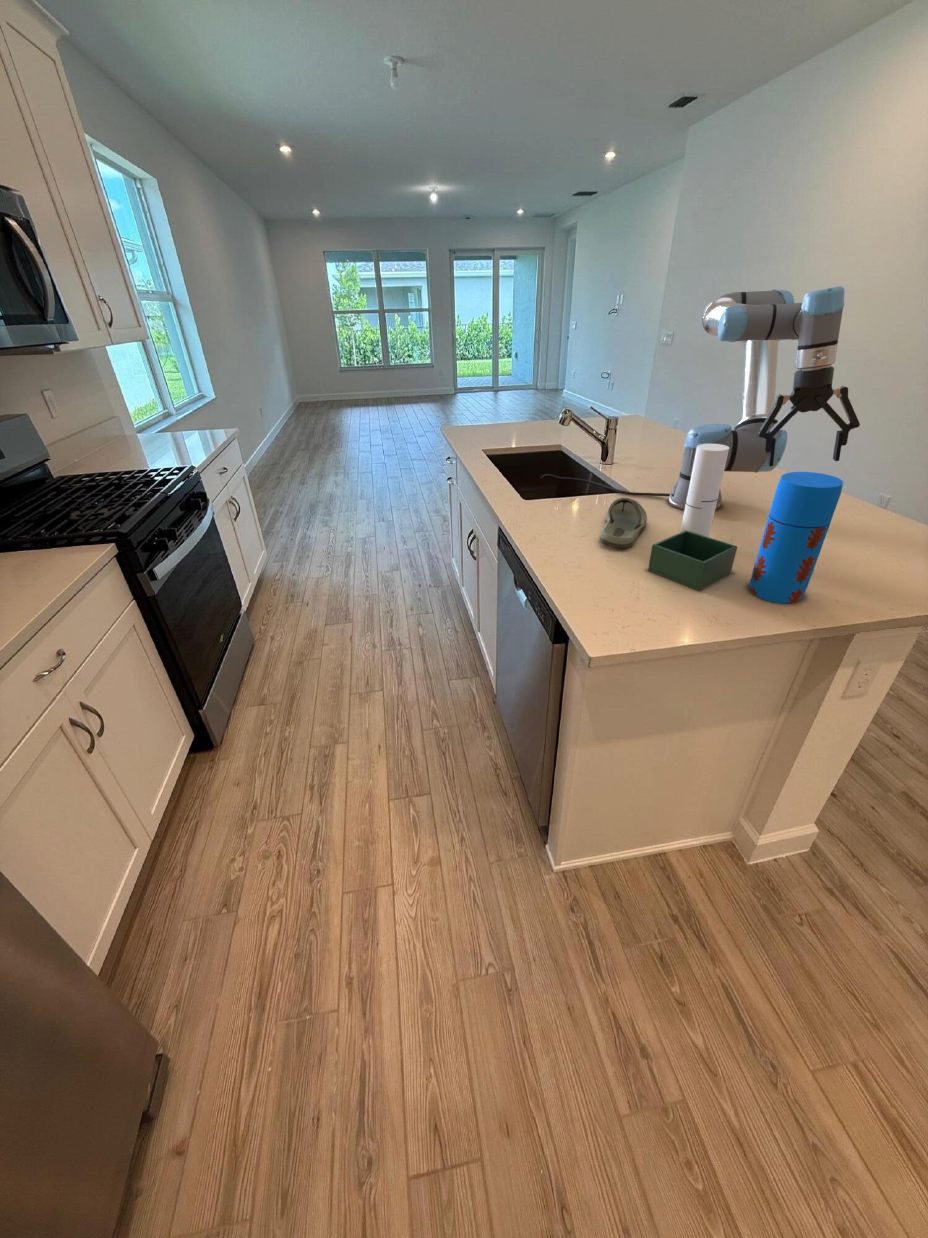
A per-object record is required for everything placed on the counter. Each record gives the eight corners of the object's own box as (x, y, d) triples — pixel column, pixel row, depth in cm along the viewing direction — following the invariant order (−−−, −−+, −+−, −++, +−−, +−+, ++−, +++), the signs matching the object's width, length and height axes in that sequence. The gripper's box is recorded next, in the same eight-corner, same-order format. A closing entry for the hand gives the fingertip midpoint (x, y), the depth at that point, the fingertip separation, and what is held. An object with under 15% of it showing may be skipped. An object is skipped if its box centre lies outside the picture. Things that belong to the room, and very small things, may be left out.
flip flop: (610, 511, 158) (613, 484, 153) (650, 515, 153) (654, 488, 149) (588, 547, 136) (591, 517, 131) (634, 553, 131) (638, 523, 127)
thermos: (738, 582, 116) (768, 473, 103) (783, 578, 116) (818, 469, 103) (766, 605, 107) (803, 489, 94) (815, 601, 107) (858, 485, 94)
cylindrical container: (709, 548, 132) (732, 450, 118) (680, 547, 133) (700, 450, 120) (704, 538, 137) (725, 443, 124) (676, 537, 139) (694, 443, 126)
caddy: (647, 570, 123) (652, 544, 119) (680, 554, 129) (685, 529, 126) (698, 590, 114) (704, 563, 110) (730, 572, 120) (737, 546, 116)
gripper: (753, 378, 117) (746, 470, 126) (888, 358, 107) (869, 460, 117) (750, 375, 123) (743, 463, 133) (877, 356, 113) (860, 454, 123)
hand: (802, 462), depth 125 cm, fingers open, 13 cm apart
